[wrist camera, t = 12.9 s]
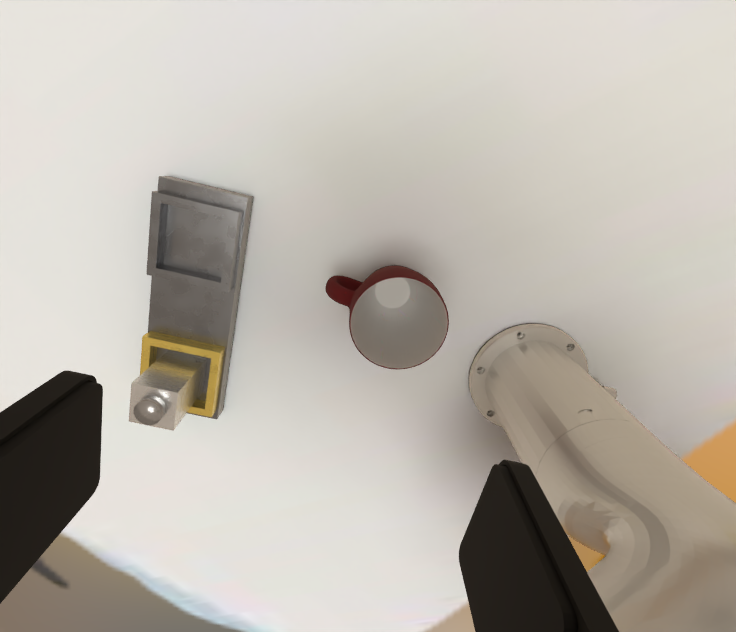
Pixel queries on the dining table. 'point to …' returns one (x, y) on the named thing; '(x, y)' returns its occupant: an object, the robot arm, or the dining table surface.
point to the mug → (393, 316)
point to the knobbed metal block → (167, 390)
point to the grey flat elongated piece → (196, 279)
